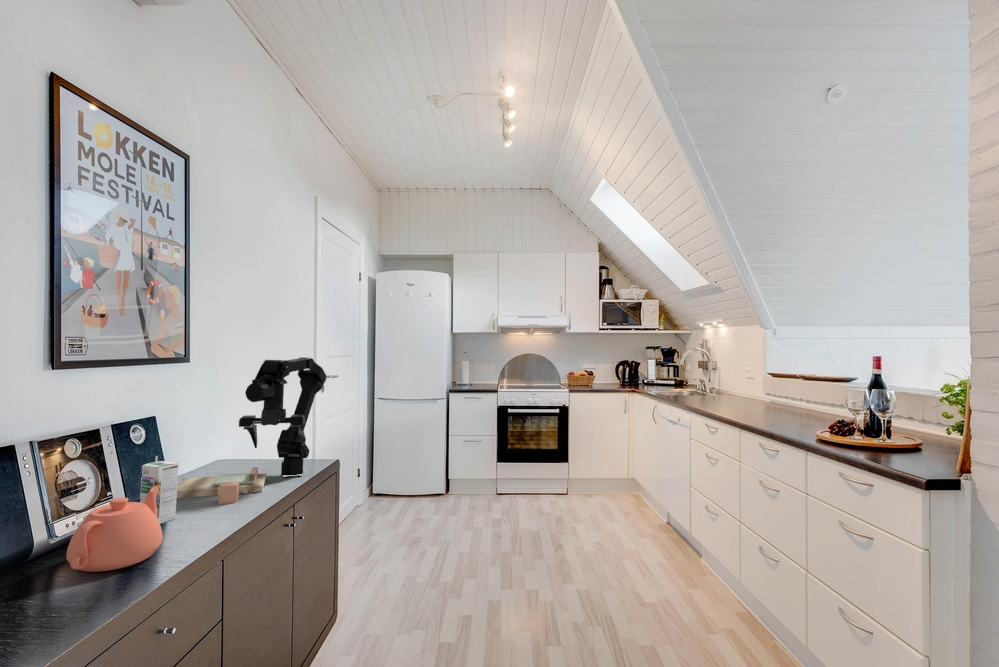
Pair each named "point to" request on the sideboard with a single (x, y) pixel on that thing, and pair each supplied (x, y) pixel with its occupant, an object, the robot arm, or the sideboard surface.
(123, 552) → the teapot
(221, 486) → the block
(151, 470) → the syrup box
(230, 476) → the cover
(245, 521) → the sideboard surface
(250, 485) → the puzzle board
